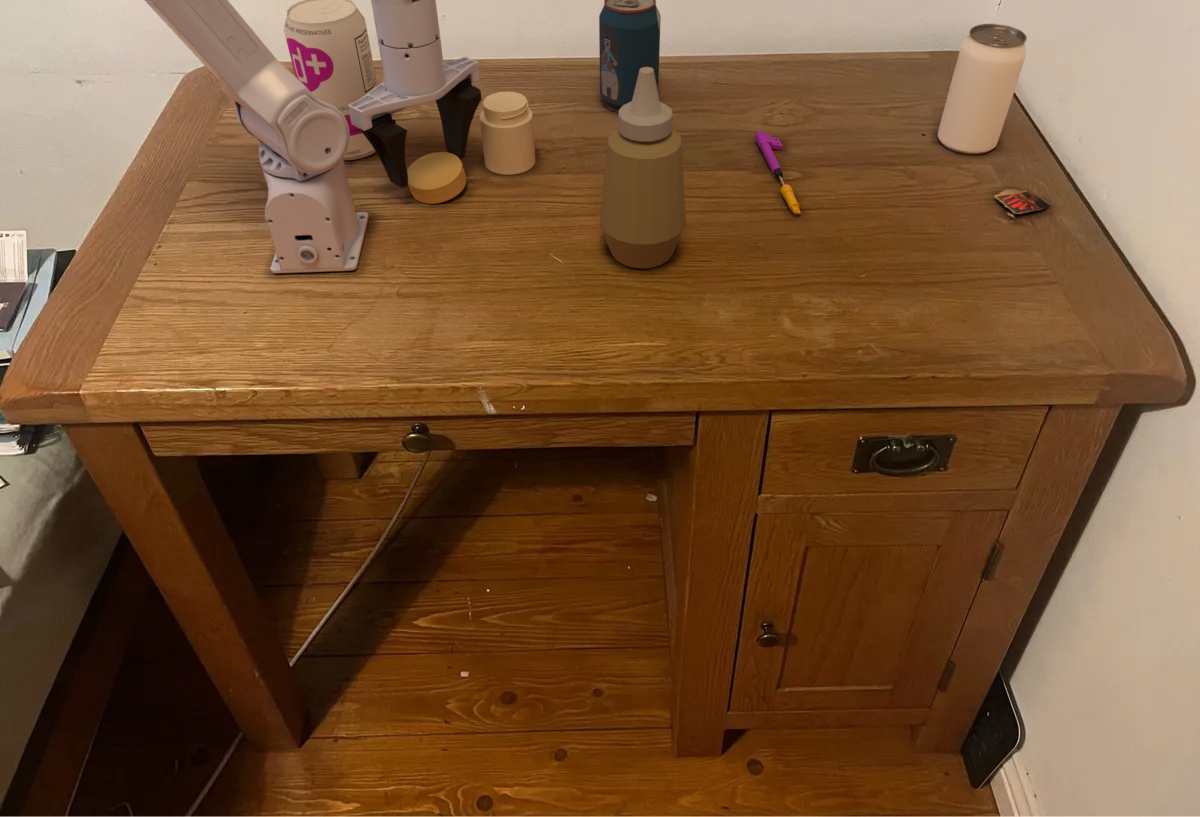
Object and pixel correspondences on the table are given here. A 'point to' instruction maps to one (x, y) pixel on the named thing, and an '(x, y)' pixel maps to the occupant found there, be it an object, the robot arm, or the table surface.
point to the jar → (507, 133)
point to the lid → (436, 177)
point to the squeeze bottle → (643, 181)
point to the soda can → (627, 47)
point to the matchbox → (1021, 201)
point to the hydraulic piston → (776, 166)
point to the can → (982, 88)
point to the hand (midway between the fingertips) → (428, 169)
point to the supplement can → (333, 58)
